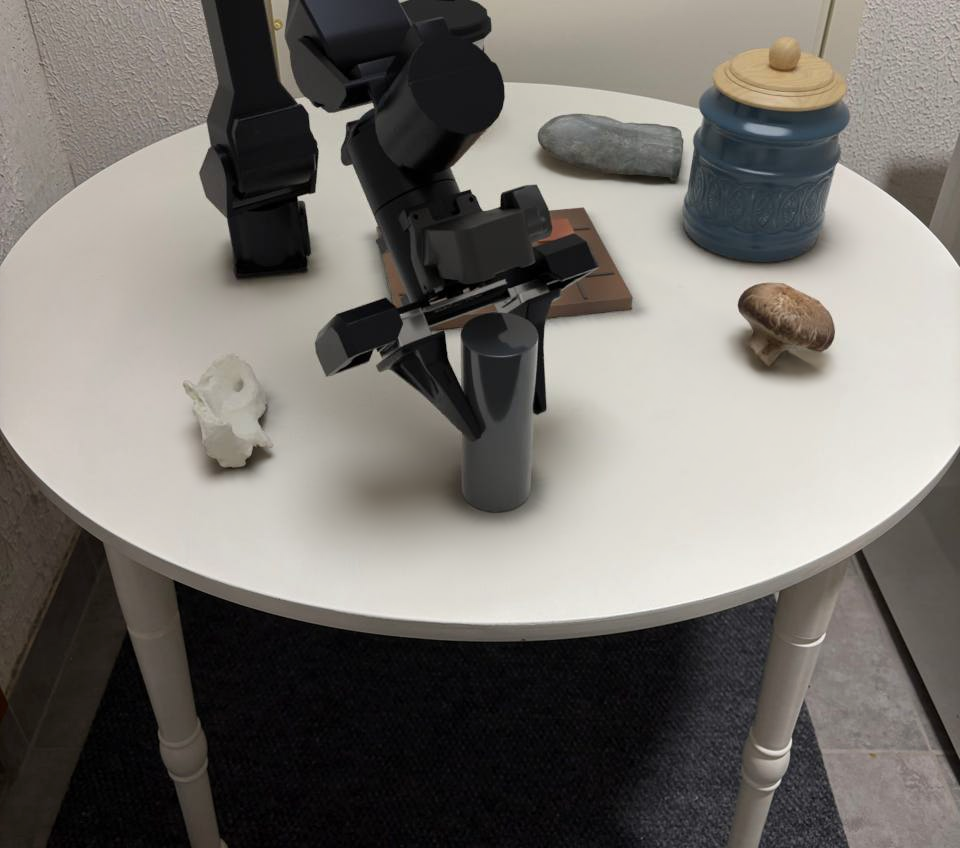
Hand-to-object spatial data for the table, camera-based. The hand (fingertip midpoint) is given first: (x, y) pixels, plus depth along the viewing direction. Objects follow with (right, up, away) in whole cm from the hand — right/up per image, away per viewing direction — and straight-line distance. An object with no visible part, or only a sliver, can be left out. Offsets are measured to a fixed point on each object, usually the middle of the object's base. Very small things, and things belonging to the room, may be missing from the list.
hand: (509, 426), depth 68 cm
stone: (+12, +32, +42) cm, 54 cm away
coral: (-20, 0, +10) cm, 23 cm away
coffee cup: (-6, +37, +48) cm, 61 cm away
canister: (+24, +21, +32) cm, 45 cm away
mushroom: (+22, +8, +18) cm, 29 cm away
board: (0, +16, +26) cm, 30 cm away
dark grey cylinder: (-1, -4, +5) cm, 7 cm away
